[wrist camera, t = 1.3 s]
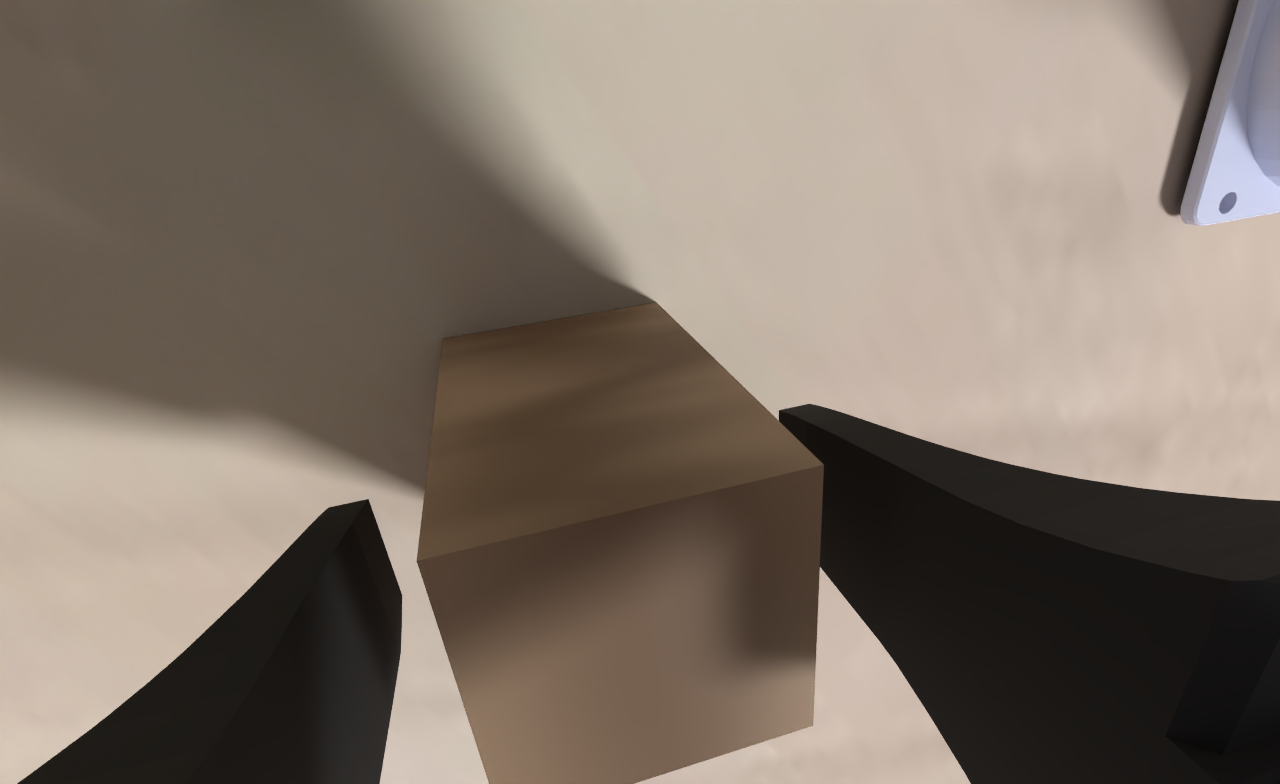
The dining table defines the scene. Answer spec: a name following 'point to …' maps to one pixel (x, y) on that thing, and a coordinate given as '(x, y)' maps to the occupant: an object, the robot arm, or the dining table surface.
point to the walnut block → (617, 550)
